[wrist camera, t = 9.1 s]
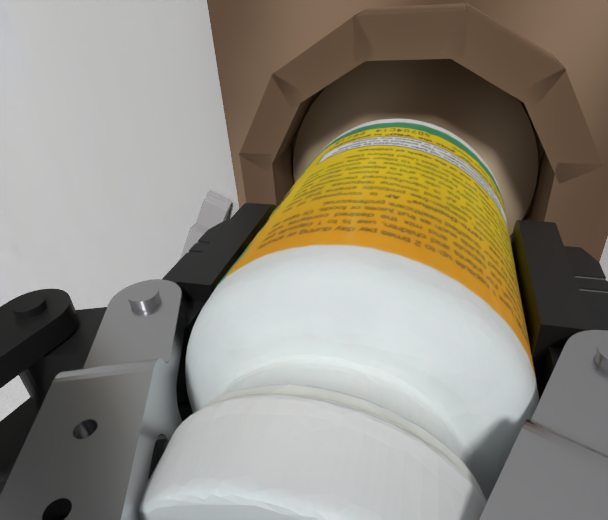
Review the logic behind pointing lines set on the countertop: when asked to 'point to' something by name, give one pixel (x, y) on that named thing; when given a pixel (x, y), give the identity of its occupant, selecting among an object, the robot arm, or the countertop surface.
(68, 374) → the robot arm
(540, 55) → the bottle holder
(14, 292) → the countertop surface
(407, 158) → the supplement bottle
